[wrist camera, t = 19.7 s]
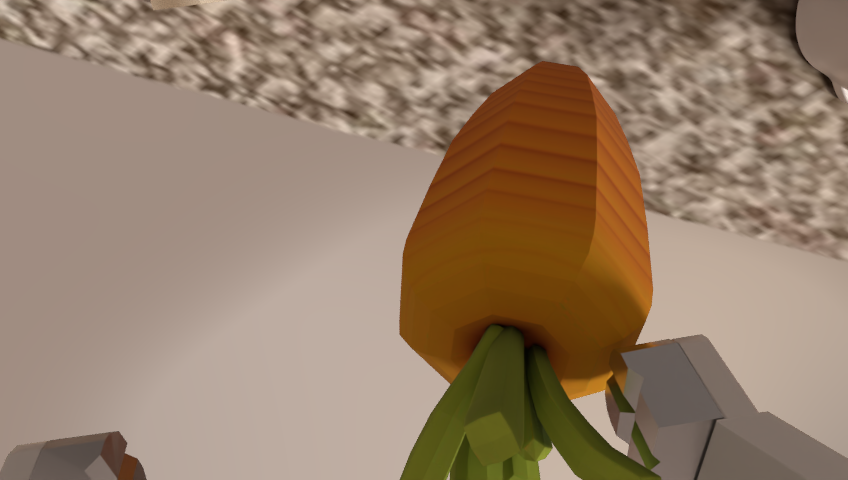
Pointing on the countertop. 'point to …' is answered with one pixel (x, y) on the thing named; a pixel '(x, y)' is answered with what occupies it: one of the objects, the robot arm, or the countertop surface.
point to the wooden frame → (178, 3)
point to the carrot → (527, 282)
